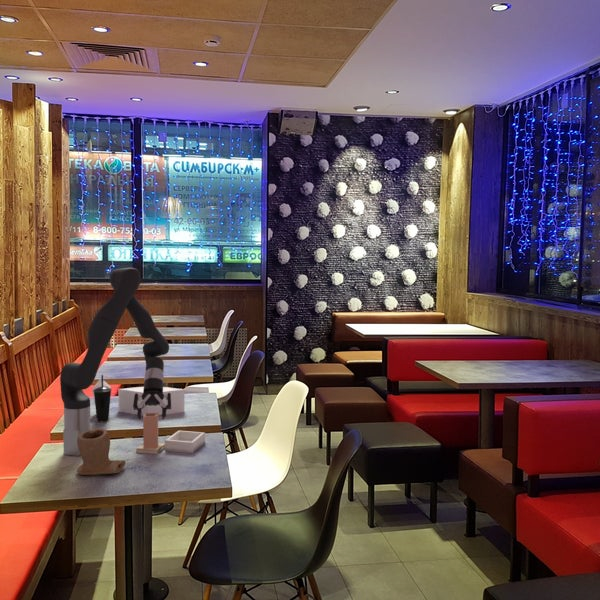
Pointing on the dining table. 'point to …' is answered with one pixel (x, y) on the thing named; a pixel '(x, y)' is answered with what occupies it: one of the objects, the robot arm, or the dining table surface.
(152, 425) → the sleeve
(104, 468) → the brown hollow piece
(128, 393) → the block
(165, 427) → the dining table surface
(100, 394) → the drinking cup
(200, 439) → the tray
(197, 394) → the dining table surface
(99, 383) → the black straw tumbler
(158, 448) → the stake board
